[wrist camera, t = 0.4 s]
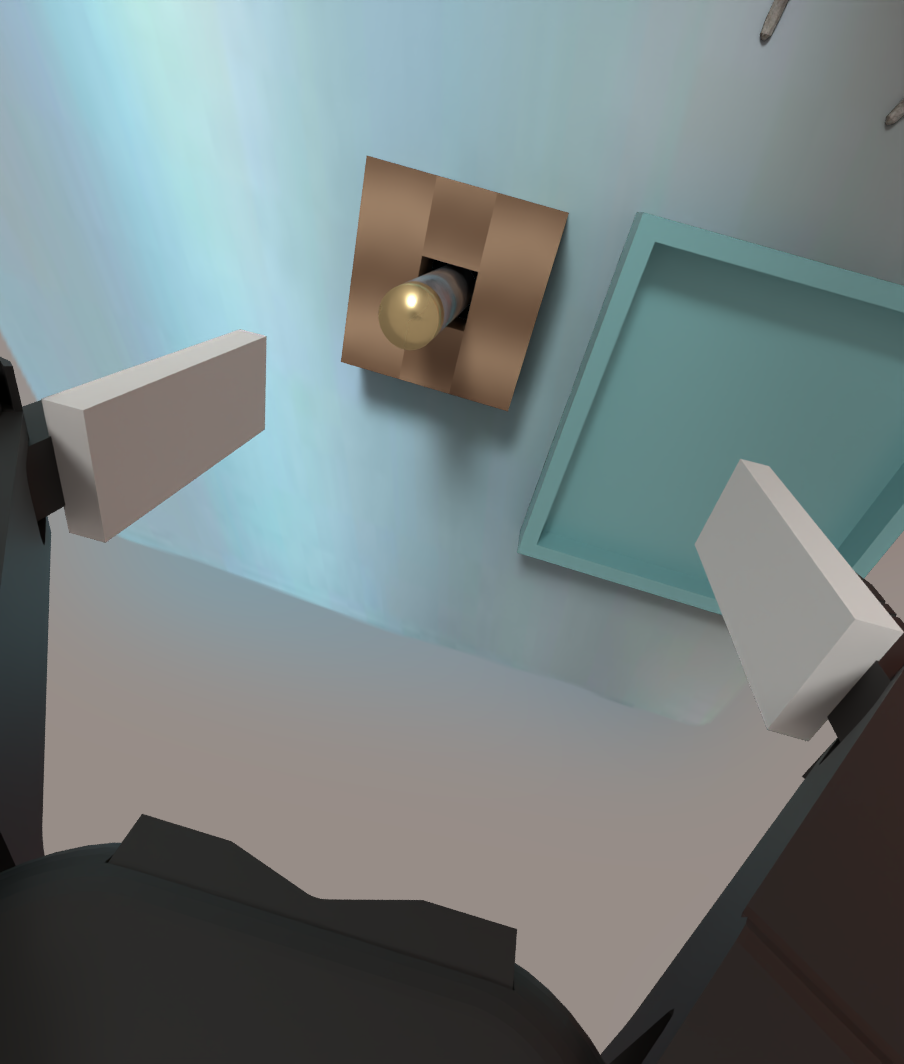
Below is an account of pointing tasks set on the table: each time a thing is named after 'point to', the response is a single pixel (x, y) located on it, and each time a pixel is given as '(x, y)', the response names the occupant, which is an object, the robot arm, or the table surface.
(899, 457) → the tray
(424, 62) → the table surface
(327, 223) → the table surface
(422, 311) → the pin
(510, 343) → the pin block
